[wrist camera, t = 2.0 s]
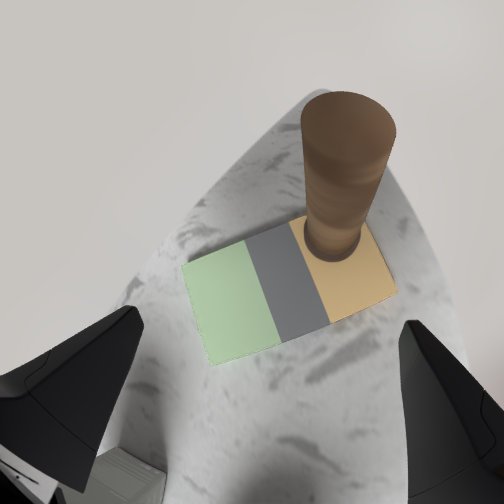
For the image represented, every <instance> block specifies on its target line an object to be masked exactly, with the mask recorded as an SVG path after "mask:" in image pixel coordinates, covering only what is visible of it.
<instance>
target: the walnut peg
mask: <svg viewBox="0 0 504 504" xmlns="http://www.w3.org/2000/svg"><path fill="white" fill-rule="evenodd" d="M301 130H302V141H303V155H304V169H305V186H306V207H307V219H306V221H305V223H304V241H305V244H306V246H307V248H308V250H309V251H310V252H311V253H312V254H313V255H314V256H315V257H316V258H318V259H320V260H322V261H326V262H339V261H342V260H345V259H347V258H348V257H349V256H351V255H352V254H353V252H354V251H355V250H356V248H357V246H358V244H359V241H360V238H361V227H362V225H363V223H364V220H365V218H366V216H367V213H368V211H369V208H370V206H371V203H372V201H373V198H374V196H375V193H376V191H377V188H378V186H379V183H380V180H381V178H382V175H383V172H384V170H385V167H386V164H387V161H388V158H389V156H390V153H391V150H392V147H393V144H394V141H395V138H396V127H395V123H394V121H393V119H392V117H391V115H390V114H389V113H388V112H387V110H386V109H385V108H384V107H382V106H381V105H380V104H379V103H377V102H376V101H374V100H372V99H370V98H368V97H366V96H363V95H360V94H357V93H352V92H344V91H339V92H338V91H337V92H329V93H325V94H322V95H319V96H317V97H315V98H314V99H312V100H311V101H309V102H308V103H307V105H306V106H305V107H304V109H303V111H302V114H301Z"/></svg>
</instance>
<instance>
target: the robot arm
mask: <svg viewBox="0 0 504 504" xmlns="http://www.w3.org/2000/svg"><path fill="white" fill-rule="evenodd" d="M143 329H144V323H143V321H142V318H141V316H140V314H139V311H138V309H137V308H136V307H135V306H129V305H126V306H123V307H122V308H120V309H118V310H117V311H115V312H113V313H111V314H110V315H108V316H106V317H104V318H103V319H101V320H99V321H98V322H96V323H94V324H92V325H91V326H89V327H87V328H86V329H84V330H82V331H81V332H79V333H78V334H76V335H74V336H72V337H71V338H69V339H67V340H65V341H64V342H62V343H60V344H59V345H57V346H55V347H54V348H52V350H49V351H47V352H45V353H44V354H42V355H40V356H38V357H37V358H35V359H33V360H31V361H29V362H28V363H26V364H24V365H22V366H20V367H18V368H16V369H14V370H12V371H10V372H8V373H6V374H4V375H1V376H0V504H66V501H65V498H64V495H63V491H62V488H60V487H59V486H58V484H59V482H60V483H62V484H64V485H66V486H68V487H70V488H72V489H74V490H76V491H78V492H80V493H82V494H83V493H84V491H85V489H86V485H87V482H88V479H89V476H90V473H91V470H92V467H93V464H94V461H95V458H96V455H97V452H98V449H99V446H100V443H101V440H102V438H103V435H104V432H105V429H106V427H107V424H108V422H109V419H110V416H111V414H112V411H113V409H114V406H115V404H116V401H117V399H118V396H119V394H120V391H121V389H122V386H123V384H124V382H125V379H126V377H127V375H128V372H129V370H130V368H131V365H132V362H133V360H134V357H135V353H136V350H137V347H138V344H139V341H140V338H141V335H142V332H143ZM399 359H400V379H401V392H402V400H403V408H404V417H405V427H406V439H407V455H408V498H409V499H408V504H504V411H503V409H502V408H501V407H500V406H499V405H498V404H497V403H496V402H495V401H494V400H493V398H492V397H491V396H490V395H489V394H488V393H487V392H486V390H484V388H483V387H482V386H481V385H480V384H479V383H478V381H477V380H476V379H475V378H474V377H473V376H472V375H471V374H470V373H469V371H468V370H467V369H466V368H465V367H464V366H463V365H462V364H461V363H460V362H459V361H458V360H457V359H456V357H455V356H454V355H453V354H452V353H451V352H450V351H449V350H448V349H447V348H446V347H445V346H444V345H443V344H442V343H441V342H440V341H439V340H438V339H437V338H436V337H435V336H434V335H433V334H432V333H431V332H430V331H429V330H428V329H427V328H426V327H425V326H424V325H423V324H422V323H421V322H420V321H419V320H407V321H406V322H405V324H404V327H403V329H402V332H401V335H400V338H399Z"/></svg>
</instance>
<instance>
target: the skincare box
mask: <svg viewBox="0 0 504 504" xmlns="http://www.w3.org/2000/svg"><path fill="white" fill-rule="evenodd" d="M165 481H166V473H164V472H162V471H160V470H158V469H156V468H154V467H152V466H150V465H148V464H146V463H144V462H142V461H140V460H138V459H136V458H135V457H133V456H131V455H130V454H128V453H126V452H125V451H123V450H122V449H120V448H116V447H115V448H113V449H111V450H109V451H107V452H105V453H103V454H101V455H99V456H98V457H96V458H95V461H94V464H93V467H92V470H91V473H90V476H89V479H88V482H87V485H86V489H85V491H84V493H83V494H82V493H80V492H78V491H76V490H74V489H72V488H70V487H68V486H66V485H64V484H62V483H60V482H59V484H58V486H59V487H60V488H62V491H63V495H64V498H65V501H66V504H162V498H163V493H164V487H165Z"/></svg>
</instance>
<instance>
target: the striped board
mask: <svg viewBox="0 0 504 504" xmlns="http://www.w3.org/2000/svg"><path fill="white" fill-rule="evenodd" d="M306 219H307V215H304V216H302V217H299V218H297V219H294V220H292V221H289V222H287V223H284V224H282V225H279V226H277V227H274V228H272V229H269V230H267V231H264V232H262V233H259V234H257V235H254V236H252V237H249V238H247V239H245V240H242V241H240V242H237V243H235V244H232V245H230V246H227V247H225V248H223V249H220V250H218V251H215V252H213V253H210V254H208V255H206V256H203V257H201V258H198V259H196V260H193V261H191V262H189V263H186V264H184V265H181V268H182V272H183V276H184V279H185V283H186V287H187V290H188V294H189V298H190V301H191V305H192V308H193V312H194V315H195V319H196V322H197V325H198V328H199V332H200V335H201V338H202V341H203V345H204V348H205V351H206V354H207V357H208V360H209V363H210V366H213V365H217V364H220V363H224V362H227V361H230V360H233V359H237V358H240V357H243V356H246V355H249V354H252V353H255V352H258V351H261V350H264V349H267V348H270V347H272V346H275V345H278V344H281V343H283V342H286V341H289V340H291V339H294V338H297V337H299V336H302V335H304V334H307V333H310V332H312V331H315V330H317V329H319V328H322V327H324V326H327V325H329V324H331V323H334V322H336V321H339V320H341V319H343V318H345V317H348V316H350V315H352V314H354V313H357V312H359V311H361V310H363V309H365V308H367V307H370V306H372V305H374V304H376V303H378V302H380V301H382V300H384V299H386V298H388V297H390V296H392V295H394V294H396V293H398V290H397V288H396V286H395V283H394V281H393V279H392V277H391V274H390V272H389V270H388V268H387V266H386V263H385V261H384V259H383V257H382V255H381V253H380V251H379V249H378V247H377V245H376V243H375V241H374V239H373V237H372V235H371V233H370V231H369V229H368V227H367V225H366V223H365V221H364V223H363V225H362V227H361V238H360V241H359V244H358V246H357V248H356V250H355V251H354V252H353V254H352V255H351V256H349V257H348V258H347V259H345V260H342V261H339V262H326V261H322V260H320V259H318V258H316V257H315V256H314V255H313V254H312V253H311V252H310V251H309V250H308V248H307V246H306V244H305V241H304V223H305V221H306Z"/></svg>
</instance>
